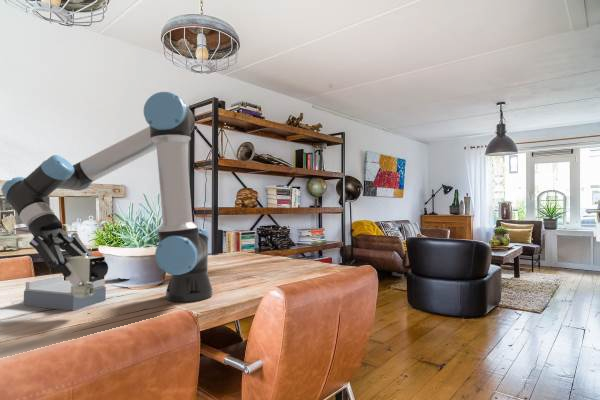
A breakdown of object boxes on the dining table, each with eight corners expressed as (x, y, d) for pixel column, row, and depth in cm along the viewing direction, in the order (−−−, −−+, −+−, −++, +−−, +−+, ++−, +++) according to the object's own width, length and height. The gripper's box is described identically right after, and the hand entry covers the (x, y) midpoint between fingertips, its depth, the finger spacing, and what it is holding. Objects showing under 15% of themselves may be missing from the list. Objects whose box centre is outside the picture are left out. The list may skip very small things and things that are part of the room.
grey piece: (105, 300, 117) (105, 278, 117) (73, 310, 105) (73, 286, 105) (52, 295, 122) (52, 274, 123) (16, 304, 111) (16, 281, 111)
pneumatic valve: (95, 300, 96) (96, 254, 96) (59, 297, 99) (60, 253, 99) (110, 295, 101) (111, 252, 102) (75, 293, 104) (76, 251, 104)
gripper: (62, 228, 114) (105, 283, 109) (1, 233, 96) (49, 298, 92) (76, 212, 113) (119, 267, 108) (16, 213, 95) (65, 279, 91)
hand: (87, 281), depth 100 cm, fingers closed on pneumatic valve, 5 cm apart
